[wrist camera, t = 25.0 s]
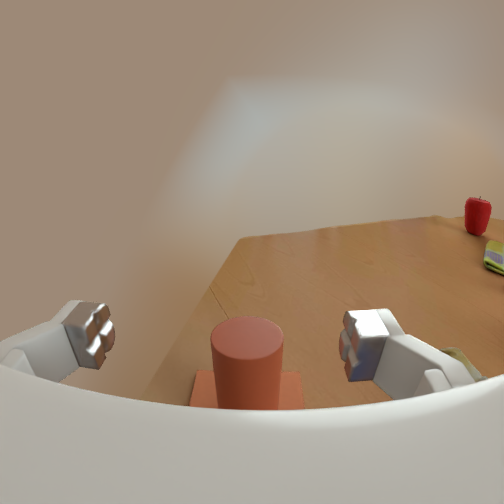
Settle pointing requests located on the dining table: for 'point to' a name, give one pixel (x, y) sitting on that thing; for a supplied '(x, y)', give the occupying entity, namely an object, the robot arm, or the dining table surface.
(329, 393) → the dining table surface
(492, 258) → the dish towel
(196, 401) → the terracotta mat
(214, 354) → the terracotta canister
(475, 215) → the apple
